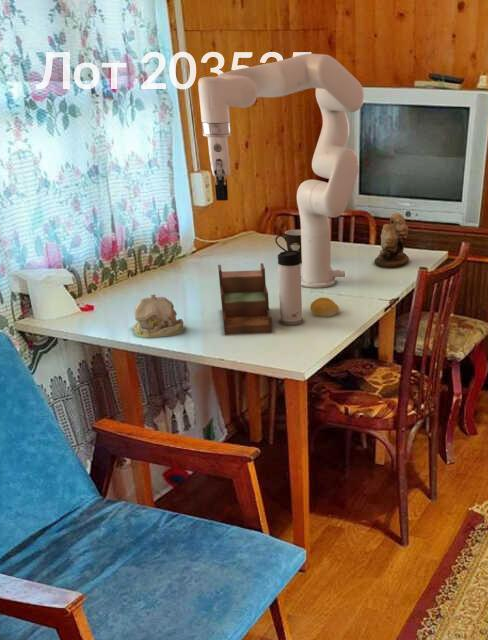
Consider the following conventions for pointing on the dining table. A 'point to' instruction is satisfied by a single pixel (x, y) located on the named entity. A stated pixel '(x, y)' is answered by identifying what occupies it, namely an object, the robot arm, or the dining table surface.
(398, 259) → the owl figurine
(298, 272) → the travel mug
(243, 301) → the step rack
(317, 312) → the bread roll
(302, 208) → the robot arm
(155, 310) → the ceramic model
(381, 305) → the dining table surface
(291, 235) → the coffee mug
